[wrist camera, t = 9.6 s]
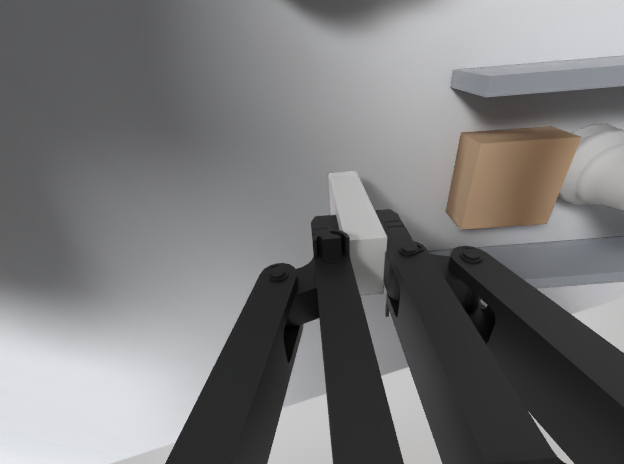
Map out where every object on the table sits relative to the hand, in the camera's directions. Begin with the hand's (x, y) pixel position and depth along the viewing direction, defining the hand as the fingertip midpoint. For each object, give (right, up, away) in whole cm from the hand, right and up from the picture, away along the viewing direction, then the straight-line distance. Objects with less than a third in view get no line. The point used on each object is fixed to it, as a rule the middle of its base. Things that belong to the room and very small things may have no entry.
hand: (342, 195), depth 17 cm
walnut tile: (+9, +2, +2) cm, 9 cm away
